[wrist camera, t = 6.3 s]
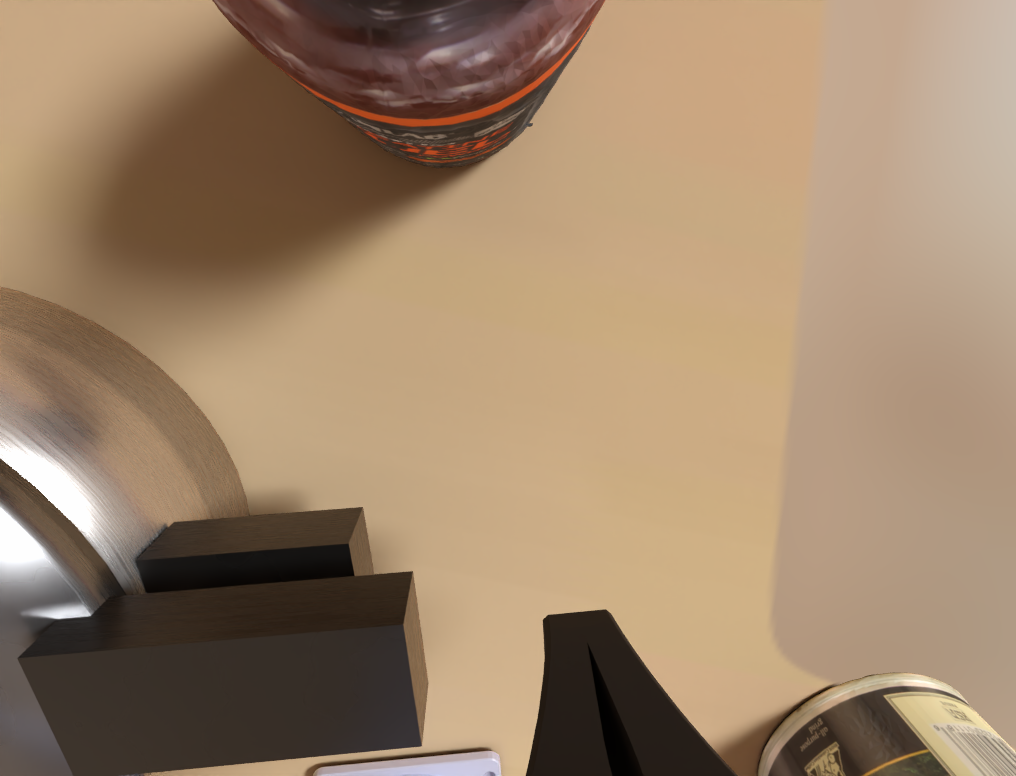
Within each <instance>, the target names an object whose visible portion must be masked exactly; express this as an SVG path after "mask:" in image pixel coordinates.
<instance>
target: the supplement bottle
mask: <svg viewBox="0 0 1016 776" xmlns="http://www.w3.org/2000/svg"><path fill="white" fill-rule="evenodd" d="M213 2H214V3H215V4H216V6H217V7H218V9H219V10H220V11H221V12H222V13H223V15H224V16H225V17H226V18H227V19H228V20H229V22H230V23H231V24H232V25H233V26H234V27H235V28H236V29H237V30H238V31H239V32H240V33H241V34H242V35H243V36H244V37H245V38H246V39H247V40H248V41H249V42H250V43H251V44H252V45H253V46H254V47H256V48H257V49H258V50H259V51H260V52H261V53H262V54H263V55H265V56H266V57H267V58H268V59H269V60H270V61H271V62H273V63H274V64H275V65H276V66H278V67H279V68H280V69H282V70H283V71H284V72H285V73H286V74H287V75H288V76H290V77H291V78H292V79H293V80H294V81H295V82H296V83H298V84H299V85H300V86H301V87H303V88H304V89H305V90H306V91H307V92H309V93H310V94H312V95H314V96H315V97H316V98H318V99H319V100H320V101H322V102H323V103H324V104H325V105H327V106H328V107H330V108H331V109H333V110H334V111H335V112H337V113H338V114H339V115H340V116H342V117H343V118H345V119H346V120H347V121H348V122H349V123H350V124H352V125H353V126H354V127H355V128H357V129H358V130H359V131H360V132H361V133H362V134H364V135H365V136H367V137H368V138H369V139H370V140H372V141H373V142H375V143H377V144H378V145H379V146H380V147H382V148H383V149H384V150H386V151H389V152H391V153H393V154H394V155H395V156H398V157H401V158H403V159H405V160H408V161H410V162H414V163H418V164H422V165H424V166H432V167H435V168H443V167H456V166H464V165H469V164H472V163H475V162H478V161H481V160H483V159H485V158H487V157H489V156H491V155H493V154H495V153H497V152H499V151H500V150H501V149H503V148H505V147H506V146H508V145H509V144H510V143H511V142H512V141H513V140H514V139H515V138H516V137H518V136H519V135H520V134H521V133H522V132H523V131H524V130H525V128H526V127H527V126H528V127H531V126H532V125H533V123H530V124H529V122H530V121H531V119H532V118H533V116H534V115H535V113H536V112H537V110H538V109H539V108H540V106H541V105H542V104H543V102H544V100H545V98H546V97H547V95H548V93H549V92H550V90H551V89H552V87H553V86H554V85H555V83H556V81H557V80H558V78H559V76H560V75H561V73H562V72H563V70H564V69H565V67H566V65H567V64H568V63H569V61H570V59H571V58H572V57H573V55H574V54H575V52H576V51H577V50H578V48H579V46H580V44H581V42H582V40H583V38H584V37H585V35H586V34H587V32H588V31H589V29H590V27H591V24H592V22H593V20H594V18H595V17H596V15H597V13H598V12H599V10H600V8H601V7H602V5H603V3H604V2H605V0H213Z"/></svg>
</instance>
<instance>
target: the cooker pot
mask: <svg viewBox="0 0 1016 776" xmlns="http://www.w3.org/2000/svg"><path fill="white" fill-rule="evenodd" d="M0 459H2V460H3V461H4V462H5V463H7V464H8V465H9V466H10V467H12V468H13V469H14V470H15V471H17V472H18V473H19V474H21V475H22V476H23V477H24V478H26V479H27V480H28V481H29V482H31V483H32V484H33V485H34V486H35V487H36V488H37V489H38V490H39V491H40V492H41V493H43V494H44V495H45V496H46V497H47V498H48V499H49V500H50V501H51V502H52V503H53V504H54V505H55V506H56V507H57V508H58V509H59V510H60V511H61V512H62V513H63V514H64V515H65V516H66V517H67V518H68V519H69V520H70V521H71V522H72V523H73V524H74V525H75V526H76V527H77V528H78V529H79V531H80V532H81V533H82V534H83V536H84V537H85V538H86V539H87V540H88V542H89V543H90V544H91V545H92V546H93V548H94V549H95V550H96V551H97V553H98V554H99V555H100V556H101V557H102V559H103V560H104V561H105V562H106V564H107V565H108V566H109V568H110V570H111V571H112V573H113V574H114V576H115V577H116V579H117V581H118V582H119V584H120V585H121V587H122V589H123V590H124V592H125V593H126V595H135V594H147V593H159V592H171V591H183V590H195V589H207V588H219V587H231V586H243V585H255V584H267V583H279V582H291V581H303V580H315V579H327V578H339V577H351V576H363V575H374V570H373V564H372V558H371V552H370V546H369V540H368V534H367V529H366V523H365V517H364V511H363V507H359V508H346V509H333V510H320V511H307V512H295V513H282V514H269V515H256V516H249V510H248V505H247V499H246V495H245V492H244V489H243V486H242V483H241V480H240V477H239V474H238V471H237V469H236V467H235V465H234V463H233V461H232V459H231V457H230V455H229V453H228V451H227V449H226V447H225V445H224V443H223V442H222V440H221V439H220V437H219V435H218V434H217V432H216V431H215V429H214V428H213V426H212V425H211V423H210V422H209V420H208V419H207V417H206V416H205V415H204V414H203V412H202V411H201V410H200V409H199V408H198V407H197V405H196V404H195V403H194V402H193V401H192V399H191V398H190V397H189V396H188V395H187V393H186V392H185V391H184V390H183V389H182V388H181V387H180V386H179V385H178V384H176V383H175V382H174V381H173V380H172V379H171V378H170V377H169V376H168V375H167V374H166V373H165V372H164V371H163V370H162V369H161V368H160V367H159V366H157V365H156V364H155V363H153V362H152V361H151V360H150V359H148V358H147V357H146V356H144V355H143V354H142V353H140V352H139V351H138V350H136V349H135V348H134V347H133V346H131V345H130V344H129V343H127V342H125V341H124V340H122V339H121V338H119V337H117V336H116V335H114V334H112V333H111V332H109V331H107V330H106V329H104V328H103V327H101V326H99V325H98V324H96V323H94V322H92V321H90V320H88V319H86V318H84V317H82V316H80V315H78V314H76V313H73V312H71V311H69V310H67V309H65V308H63V307H61V306H59V305H56V304H53V303H51V302H48V301H45V300H42V299H39V298H37V297H34V296H31V295H28V294H25V293H23V292H20V291H15V290H11V289H7V288H3V287H0Z"/></svg>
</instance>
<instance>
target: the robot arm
mask: <svg viewBox="0 0 1016 776" xmlns="http://www.w3.org/2000/svg"><path fill="white" fill-rule="evenodd" d="M543 632H544V651H545V662H544V675H543V683H542V691H541V699H540V706H539V713H538V719H537V724H536V729H535V734H534V739H533V744H532V750H531V755H530V760H529V764H528V768H527V773H526V776H737V775H736V774H735V772H734V771H733V770H732V769H731V768H730V767H729V766H728V765H727V764H726V763H725V762H724V761H723V760H722V758H721V757H720V756H719V755H718V754H717V753H716V752H715V751H714V750H713V748H712V747H711V746H710V745H709V744H708V743H707V742H706V740H705V739H704V738H703V737H702V736H701V735H700V733H699V732H698V731H697V730H696V729H695V728H694V726H693V725H692V724H691V723H690V722H689V721H688V719H687V718H686V717H685V716H684V715H683V713H682V712H681V711H680V710H679V708H678V707H677V706H676V705H675V703H674V702H673V701H672V700H671V698H670V697H669V696H668V694H667V693H666V692H665V691H664V689H663V688H662V687H661V686H660V684H659V683H658V682H657V680H656V679H655V678H654V676H653V675H652V674H651V672H650V671H649V670H648V668H647V667H646V666H645V664H644V663H643V662H642V660H641V659H640V657H639V656H638V654H637V653H636V652H635V650H634V649H633V647H632V646H631V644H630V643H629V641H628V640H627V638H626V637H625V635H624V634H623V632H622V631H621V629H620V628H619V626H618V624H617V623H616V621H615V620H614V618H613V616H612V615H611V613H610V612H608V611H607V610H595V611H585V612H575V613H564V614H554V615H548V616H547V617H546V618H544V619H543ZM313 776H501V766H500V757H499V755H498V754H497V753H496V752H493V751H480V752H470V753H460V754H450V755H440V756H429V757H419V758H409V759H399V760H389V761H378V762H368V763H358V764H348V765H337V766H327V767H321V768H319V769H317V770H315V772H314V774H313Z"/></svg>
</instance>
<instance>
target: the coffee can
mask: <svg viewBox="0 0 1016 776" xmlns="http://www.w3.org/2000/svg"><path fill="white" fill-rule="evenodd" d="M758 776H1016V751H1015V750H1014V749H1013V748H1012V747H1011V746H1010V745H1009V744H1008V743H1007V742H1006V741H1005V740H1004V739H1003V738H1002V737H1001V736H1000V735H999V734H998V733H996V732H995V731H994V730H993V729H992V728H991V727H990V726H989V725H988V724H987V723H986V722H985V720H984V719H983V718H982V717H980V715H979V714H978V713H977V712H976V711H975V710H974V709H972V707H971V706H970V705H969V704H968V702H967V701H966V700H965V699H964V697H963V696H962V695H961V694H960V693H959V692H958V691H957V690H955V689H954V688H952V687H951V686H950V685H949V684H946V683H944V682H942V681H939V680H937V679H934V678H931V677H928V676H924V675H919V674H913V673H886V674H876V675H869V676H865V677H863V678H860V679H856V680H852V681H848V682H845V683H843V684H840V685H838V686H835V687H832V688H830V689H828V690H826V691H824V692H822V693H820V694H819V695H817V696H815V697H813V698H812V699H810V700H809V701H807V702H806V703H804V704H803V705H802V706H800V707H799V708H798V709H796V710H795V711H794V712H793V713H792V714H790V715H789V716H788V717H787V718H786V719H785V720H784V721H783V722H782V724H781V725H780V726H779V727H778V728H777V729H776V731H775V732H774V733H773V734H772V736H771V737H770V739H769V741H768V743H767V744H766V746H765V748H764V750H763V753H762V756H761V759H760V763H759V769H758Z"/></svg>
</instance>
